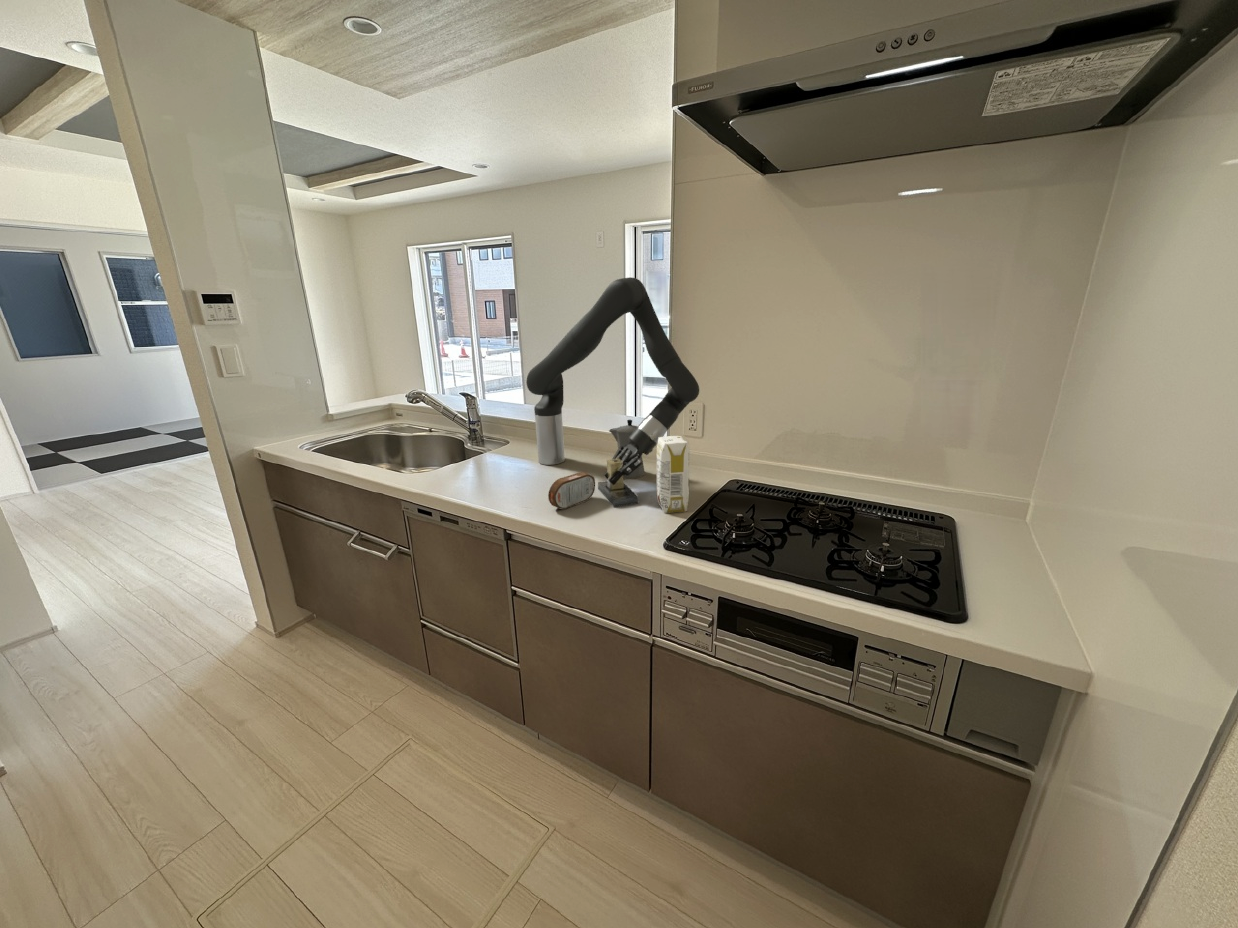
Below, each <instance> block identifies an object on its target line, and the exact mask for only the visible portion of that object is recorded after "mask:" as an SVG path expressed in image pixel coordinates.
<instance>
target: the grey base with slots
mask: <svg viewBox="0 0 1238 928" xmlns="http://www.w3.org/2000/svg"><path fill="white" fill-rule="evenodd" d="M597 489H598V490H599V491H600V492H601V494H602V496H604V497H605V498H606V500H607V501H608V502H609V503H610V504H611V506H613V508H617V507H626V506H631V505H636V504H639V496H638V494H636V493H635V491H633V490H632V489H631V488H630V487H629V486H628V485H627V484H626V483H624V490H618V491H611V492H610V491H609V490H608V488H607V480H605V481H598V482H597Z"/></svg>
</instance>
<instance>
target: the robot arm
mask: <svg viewBox="0 0 1238 928" xmlns="http://www.w3.org/2000/svg"><path fill="white" fill-rule="evenodd" d="M628 313H630V314H631V315H632V317H633V318H634V319H635V322H637V324H638V326H639V327H640V330H641V333H642V336H643V341H644V344H645V348H646V351H647V354H648V355H649V357H650V360H651V362H652V363H653V364H654V366H655V368H656V369H657V371H658V372H659V374H660V375H661V376H662V378H663V377H664V378H665V379H666V381H667V382H668V384H669V386H670V389H669V390H668V392H666V394H665V395H664V397H663V399H661V401H660V402H659V403H657V405H655V407H654V408H653V409H652V410H651V411H650V413H649V414H648V415H647V416H646V417H644V418H643V420H642V421H641V422H640V423H639V424H638V425H637V426H638V427H637V428H636V429H635V430H634V431H633V432H632V434H631V435H630V436H629V437H628V440H629V441H630V443H629V444H628V445H627V446H626V447H623V446H620V447H619V449H618V448H617V451H615V453H614V455H613V456H612V458H611V460H612V459H620V460H621V465H620V466H619V468H618V469H617V470H616V471H615V472H614V474H613V475H612V476H611V477H610V478H609V482H611V483H612V484H613V485H614V484H616V482H617V481H618V480H619V479H620V478H621V476H622V475H623V476H624V475H626V476H628V475H629V474H631V473H632V472H633V471H634V470H635V469H637V468H638V467H639V466H640V465H641V464H642V462H641V461H640V458H641V456H642V457H643V454H644V455H645V456H647V455H649V454H650V453H652V452H651V450H652V449H653V450H654V448H655V447H657V443H658V437H665V434H666V433H667V432H668V431H669V429H670V428H671V427H672V426H673V425H674V423H675V422H676V421H677V420H678V418H679V415H680V414H681V413H682V411H684V409H685V408H686V407H687V406H688V405H689V404H690V403H691V402H693V401H695V400H696V399H697V398H698V397H699V395H700V386H699V383H698V381H697V379H696V378H695V376H694V375H693V373H691V371H690V370H689V369H688V367H687V366H686V365H685V364H684V363H683V361H682V360H681V357H680V356H679V354H678V352H677V351H676V349H675V348H674V347H675V346H673V344H672V342H671V341H670V339H669V337H668V336H667V333H666V332H665V330H664V328H663V326H662V324H661V322H660V320H659V318H658V315H657V313H656V310H655V308H654V306H653V304H652V301H651V299H650V296H649V294H648V291H647V290H646V287H645V285H644V284H643V282H642V281H641V280H640V279H638V278H636V277H624V278H623V277H622V278H618V279H614V280H613V281H612V282H611V283H609V285H608V286H607V287H606V288H605V289H604V291H603V292H602V294H601V295H600V297H599V298H598V299H597V301H596V302H595V303H594V304H593V306H592V307H591V308H590V309H589V311H588V312H586V314H585V315H583V316H582V318H580V320H579V321H578V322H577V323H576V324H575V325H573V326H572V328H571V329H570V330H569V331H568V332H567V333H566V334H565V336H563V338H562V339H561V340H560V341H559V342H558V343H557V345H555V346H554V348H552V350H551V351H550V352H549V353H548V354H547V355H546V356H545V358H543V359H542V360H540V361H539V363H537V364H536V365H535V366H534V367H532V368H531V369H530V370H529V372H528V374H527V375H526V382H525V383H526V387H527V389H528V391H529V392H530V393H531V394H533V395H536V396H537V395H538V396H541V398H540V400H539V401H538V402H537V403H536V404H535V405H534V407H533V408H534V421H535V422H534V423H535V433H536V435H535V436H536V444H537V447H536V448H537V459H538V461H537V462H538V463H539V464H541V465H546V466H549V465H550V466H551V465H559V464H562V463H563V462H565V442H564V440H565V439H564V428H563V413H562V408H563V405H564V379H563V373H564V372H566V371H568V370H570V369H571V368H573V367H574V366H577V365H578V364H579V363H581V362H582V361H584V360H585V359H587V358H588V357H589V356H590V355H591V354H592V353H593V352H594V351H595V350H596V349H597V347H598V346H599V345H600V343H601V342H602V340H603V338H604V335H605V333H606V331H607V330H608V328H610V327H611V325H613V324H614V323H615V322H616V321H617V320H618V319H620V318H621V317H623V316H624V315H626V314H628ZM653 450H652V451H653ZM623 466H624V467H623ZM629 469H630V470H629ZM628 470H629V471H628ZM603 476H604V477H605V479H606V480H607V479H608V476H607V471H606V472H605V473H604V475H603Z"/></svg>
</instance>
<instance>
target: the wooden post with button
mask: <svg viewBox="0 0 1238 928" xmlns="http://www.w3.org/2000/svg"><path fill="white" fill-rule="evenodd" d="M620 465H621V460H620V459H617V458H616V459H612V458H611V459H607V460H606V467H607V468H606V472H607V476H608V479H607V478H606V481H607V488H608V490H609V491H610V492H611V491H618V490H624V484H625V481H624V479H625V478H623V475H622V476H621V478H620V479H619V480H618V481H617V482H616V484H614V485H613V484H612V483H611V482H609V478H610V477H611V476H612V475H613V474H614V472H615V471H616V470H617V469H618V468H619V466H620Z"/></svg>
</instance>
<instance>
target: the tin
mask: <svg viewBox="0 0 1238 928" xmlns="http://www.w3.org/2000/svg"><path fill="white" fill-rule="evenodd" d="M595 490H596V480H595V477H594V476H593V475H591V474H590V473H588V472H586V471H578V472H577V473H573V474H570V475H566V476H564V477H560V478H557V479H556V480H555V481H554V482H552V484H551V486H550V488H549V491H548V495H547V496H548V497H547V499H548V501H549V503H550V504H551V506H553V507H555V508H557V509H560V510H566V509H569V508H571V507H573V506H576V505H579V504H582V503H585V502H587V501H589V500H590V499H591V498H592V496H593V495H594V493H595Z"/></svg>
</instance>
